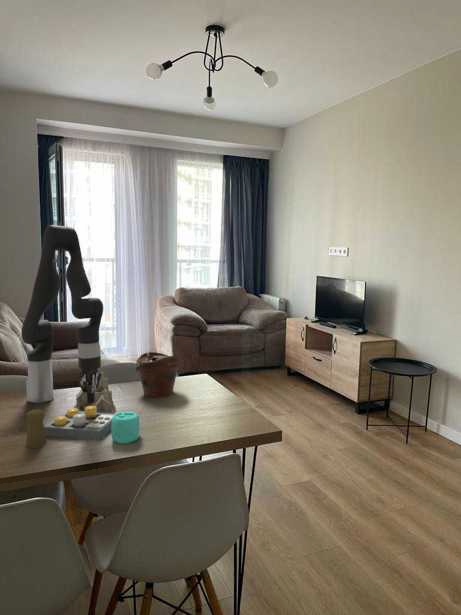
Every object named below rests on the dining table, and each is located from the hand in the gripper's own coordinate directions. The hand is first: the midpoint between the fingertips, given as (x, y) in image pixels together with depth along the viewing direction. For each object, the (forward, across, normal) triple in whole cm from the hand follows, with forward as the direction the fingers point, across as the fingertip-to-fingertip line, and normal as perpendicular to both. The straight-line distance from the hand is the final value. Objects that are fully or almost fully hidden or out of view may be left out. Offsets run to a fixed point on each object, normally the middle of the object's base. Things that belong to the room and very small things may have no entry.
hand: (91, 402), depth 160 cm
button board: (+8, +4, -1) cm, 9 cm away
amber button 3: (+5, 0, 0) cm, 5 cm away
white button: (+5, +8, 0) cm, 9 cm away
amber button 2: (+6, 0, -7) cm, 10 cm away
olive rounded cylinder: (+8, +18, -10) cm, 23 cm away
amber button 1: (+6, +8, -7) cm, 13 cm away
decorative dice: (+9, +9, +17) cm, 21 cm away
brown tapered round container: (+8, -40, +11) cm, 42 cm away
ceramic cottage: (+8, -13, -6) cm, 16 cm away
